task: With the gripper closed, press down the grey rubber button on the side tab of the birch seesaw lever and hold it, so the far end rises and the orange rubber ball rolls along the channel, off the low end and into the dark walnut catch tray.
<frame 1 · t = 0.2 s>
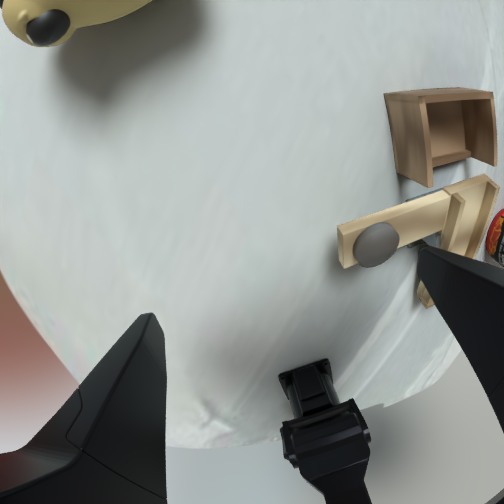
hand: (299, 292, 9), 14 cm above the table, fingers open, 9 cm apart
tray: (432, 125, 20), on the table
canned food: (499, 230, 28), on the table
fulcrum: (436, 212, 25), on the table
lever: (420, 265, 23), point 4 cm above the table, hinge at -14.0°, touching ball
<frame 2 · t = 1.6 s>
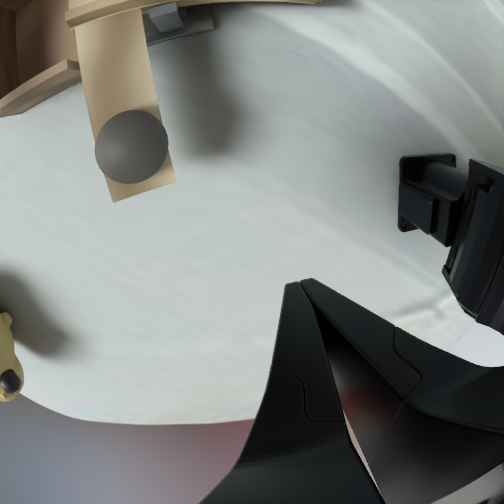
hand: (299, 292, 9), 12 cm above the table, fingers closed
tray: (48, 36, 11), on the table
lever: (214, 25, 11), point 4 cm above the table, hinge at -14.0°, touching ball
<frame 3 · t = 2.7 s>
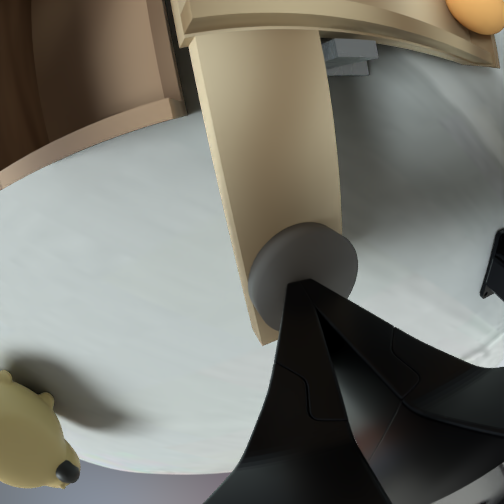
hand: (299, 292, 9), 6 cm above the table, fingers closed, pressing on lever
tray: (90, 39, 8), on the table
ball: (476, 4, 5), point 4 cm above the table, tilted 7°, touching lever
lever: (410, 92, 8), point 4 cm above the table, hinge at -13.5°, touching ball, gripper
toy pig: (34, 392, 19), on the table
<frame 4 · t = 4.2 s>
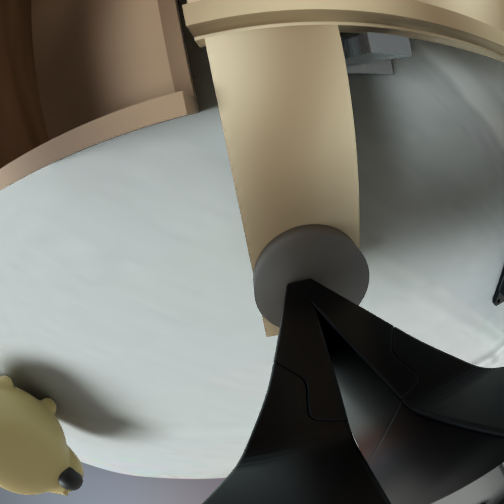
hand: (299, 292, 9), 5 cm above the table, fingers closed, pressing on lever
tray: (94, 30, 7), on the table
lever: (451, 95, 6), point 4 cm above the table, hinge at 4.0°, touching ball, gripper
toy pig: (36, 397, 18), on the table
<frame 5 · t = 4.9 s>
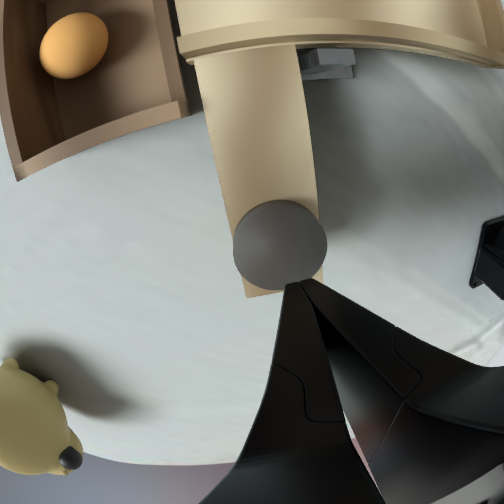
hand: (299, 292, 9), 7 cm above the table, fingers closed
tray: (103, 46, 10), on the table
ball: (73, 45, 8), point 2 cm above the table, tilted 76°, touching tray
fulcrum: (286, 6, 10), on the table
lever: (394, 92, 9), point 4 cm above the table, hinge at 4.2°
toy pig: (39, 381, 20), on the table
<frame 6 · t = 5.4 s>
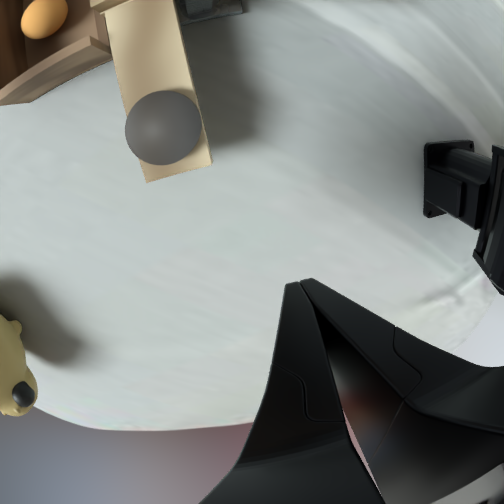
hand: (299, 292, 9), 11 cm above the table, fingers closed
tray: (60, 21, 10), on the table
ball: (44, 16, 9), point 2 cm above the table, tilted 94°, touching tray
lever: (250, 0, 9), point 4 cm above the table, hinge at 4.2°
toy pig: (7, 325, 21), on the table
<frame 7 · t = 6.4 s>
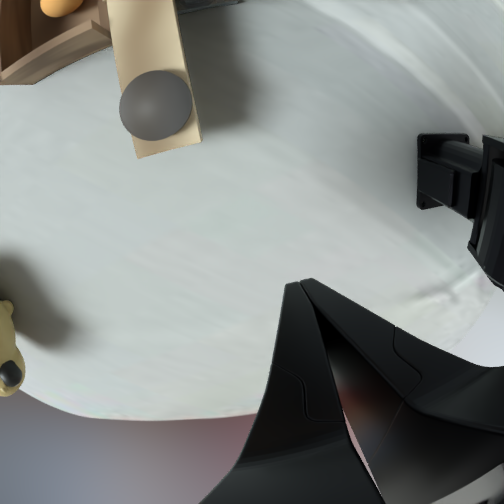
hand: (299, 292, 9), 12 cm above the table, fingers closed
tray: (65, 8, 10), on the table
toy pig: (0, 306, 21), on the table
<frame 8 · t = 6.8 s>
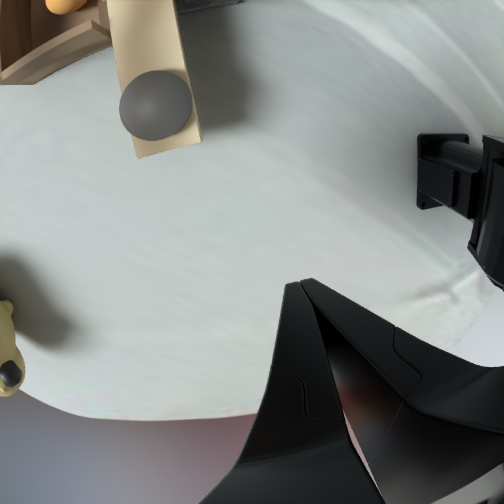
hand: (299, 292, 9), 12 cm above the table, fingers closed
tray: (65, 8, 10), on the table
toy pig: (0, 306, 21), on the table
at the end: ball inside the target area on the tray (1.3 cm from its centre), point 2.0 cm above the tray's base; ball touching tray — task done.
